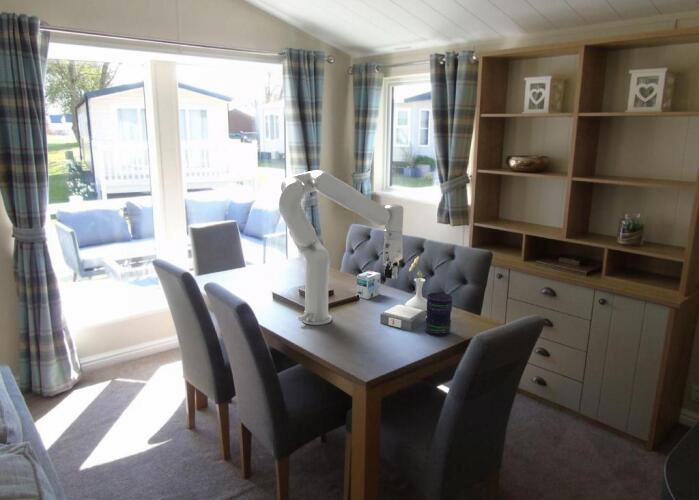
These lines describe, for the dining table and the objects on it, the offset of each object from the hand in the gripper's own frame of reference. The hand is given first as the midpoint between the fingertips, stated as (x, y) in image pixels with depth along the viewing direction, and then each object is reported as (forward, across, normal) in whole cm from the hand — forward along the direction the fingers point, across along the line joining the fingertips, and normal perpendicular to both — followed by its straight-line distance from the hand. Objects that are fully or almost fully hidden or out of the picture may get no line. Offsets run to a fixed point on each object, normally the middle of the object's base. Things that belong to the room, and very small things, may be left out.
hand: (391, 275), depth 223 cm
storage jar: (+18, -7, -25) cm, 31 cm away
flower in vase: (+18, +13, -7) cm, 23 cm away
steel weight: (+1, 0, 0) cm, 1 cm away
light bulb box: (+18, +18, +21) cm, 33 cm away
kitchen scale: (+17, -4, -8) cm, 20 cm away
